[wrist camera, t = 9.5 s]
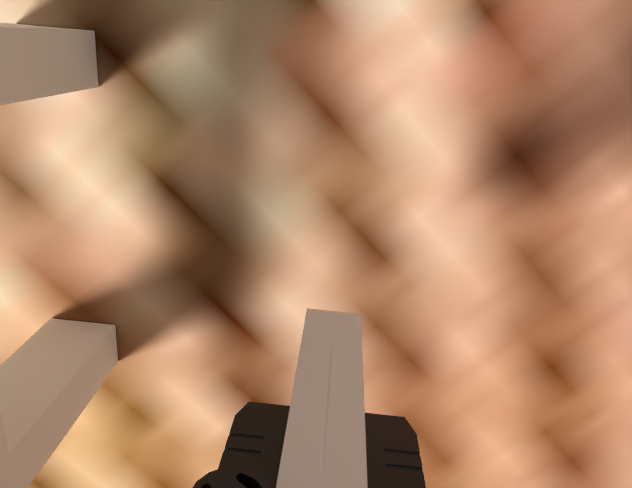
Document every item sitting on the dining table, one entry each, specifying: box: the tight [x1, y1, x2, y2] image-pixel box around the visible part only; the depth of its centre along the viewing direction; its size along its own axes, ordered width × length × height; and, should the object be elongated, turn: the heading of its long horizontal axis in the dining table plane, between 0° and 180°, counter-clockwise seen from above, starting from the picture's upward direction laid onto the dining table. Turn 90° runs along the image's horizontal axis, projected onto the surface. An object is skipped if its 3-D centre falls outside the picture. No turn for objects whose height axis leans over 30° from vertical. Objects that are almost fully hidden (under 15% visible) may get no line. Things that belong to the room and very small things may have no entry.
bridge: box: [0, 23, 118, 488], centre depth 18 cm, size 3×14×9 cm, turn 175°
